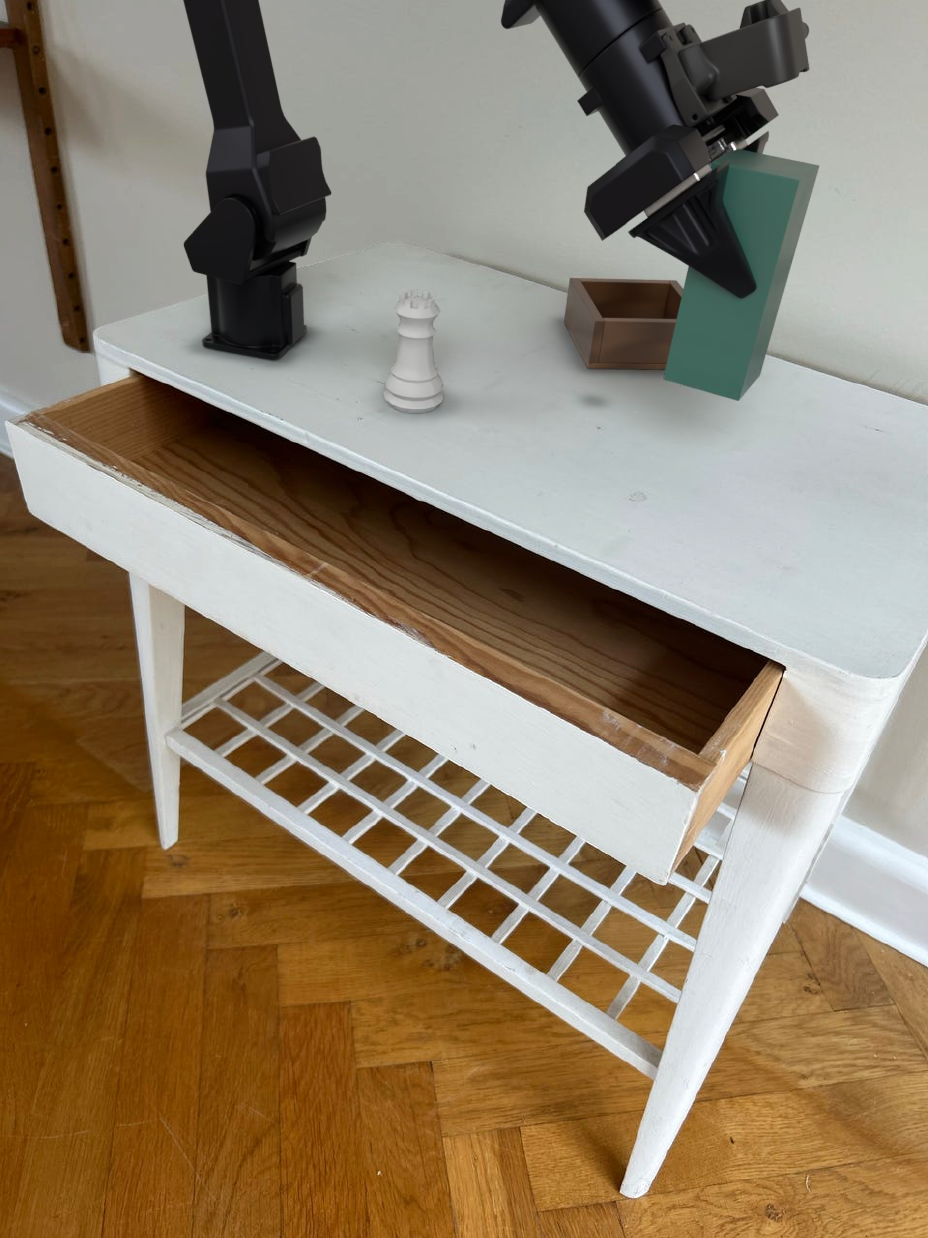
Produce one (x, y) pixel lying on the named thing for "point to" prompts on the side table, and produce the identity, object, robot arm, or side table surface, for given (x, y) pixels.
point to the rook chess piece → (415, 356)
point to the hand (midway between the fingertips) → (760, 281)
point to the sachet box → (768, 232)
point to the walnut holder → (622, 321)
